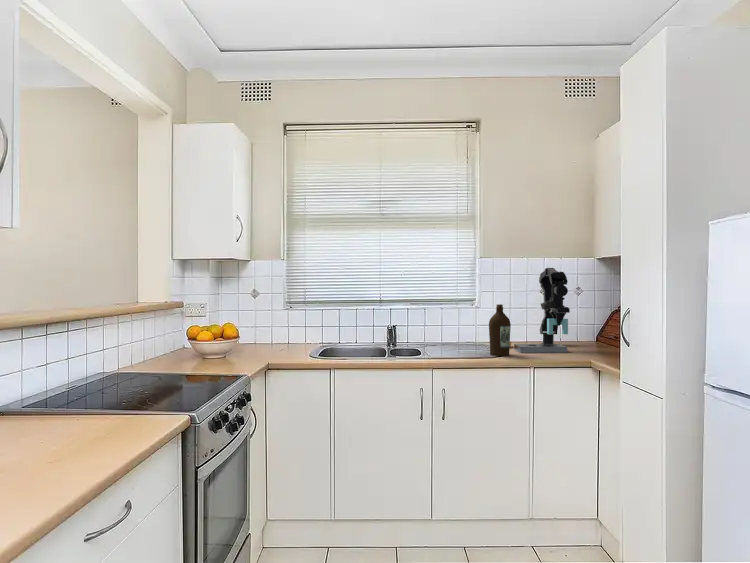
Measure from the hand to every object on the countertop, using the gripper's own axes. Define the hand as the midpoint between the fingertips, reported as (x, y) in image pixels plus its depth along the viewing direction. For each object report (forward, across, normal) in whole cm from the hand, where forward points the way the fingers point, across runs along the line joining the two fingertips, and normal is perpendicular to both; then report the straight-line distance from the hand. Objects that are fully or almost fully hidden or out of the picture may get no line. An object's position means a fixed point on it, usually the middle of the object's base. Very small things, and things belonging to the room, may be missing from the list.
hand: (557, 325), depth 296 cm
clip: (+4, 0, 0) cm, 5 cm away
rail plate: (+13, +2, -10) cm, 16 cm away
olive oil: (+13, +13, -34) cm, 39 cm away
